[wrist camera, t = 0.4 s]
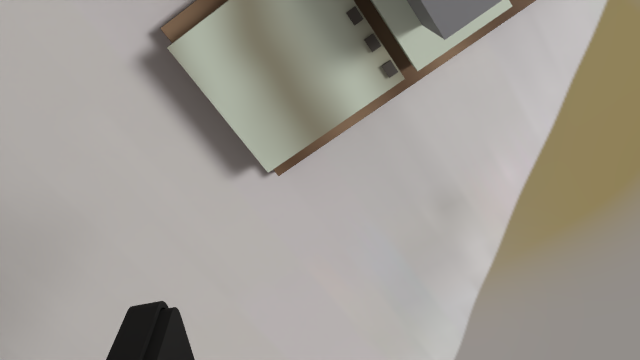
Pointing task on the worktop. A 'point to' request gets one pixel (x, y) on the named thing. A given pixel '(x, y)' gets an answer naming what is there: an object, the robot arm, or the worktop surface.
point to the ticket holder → (297, 68)
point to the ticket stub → (435, 24)
